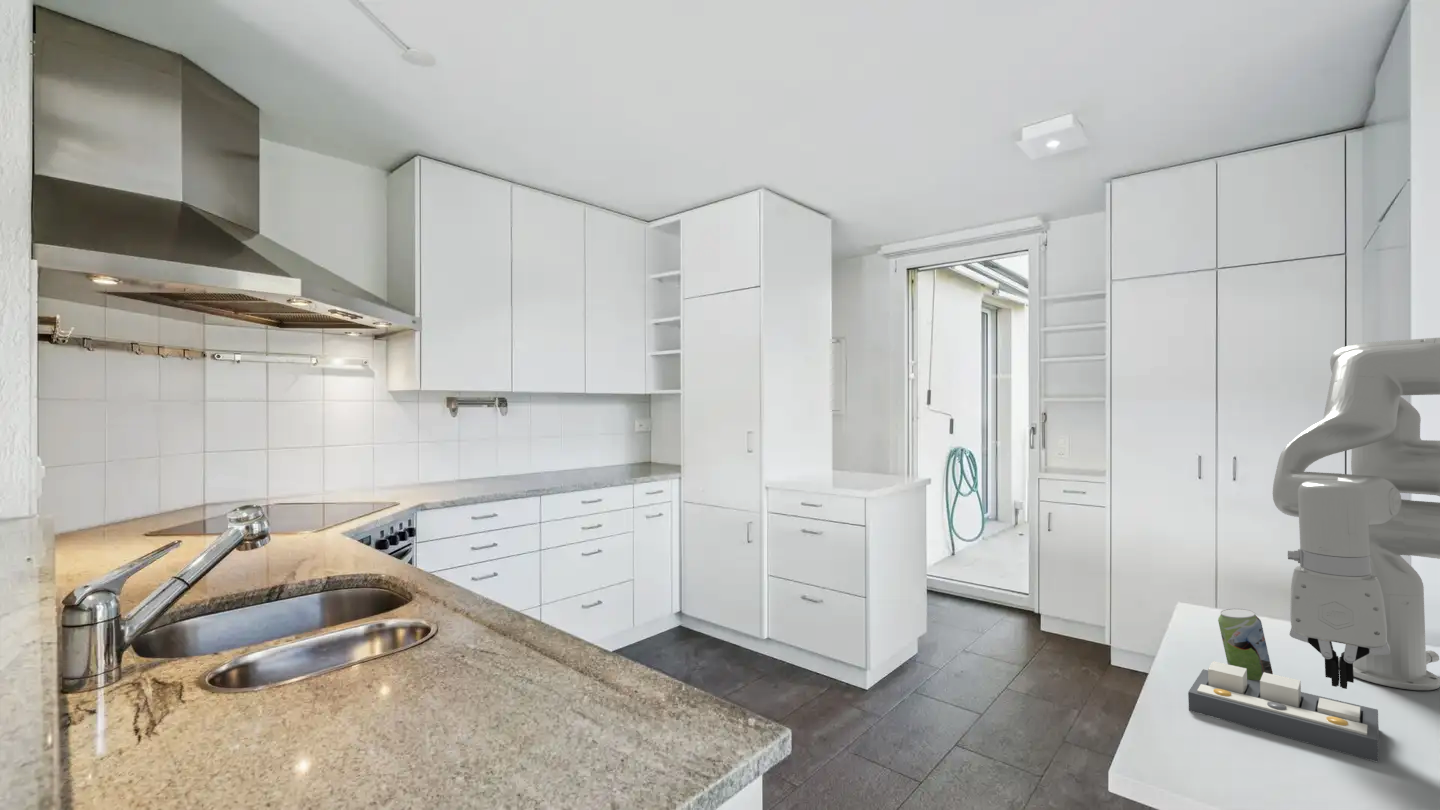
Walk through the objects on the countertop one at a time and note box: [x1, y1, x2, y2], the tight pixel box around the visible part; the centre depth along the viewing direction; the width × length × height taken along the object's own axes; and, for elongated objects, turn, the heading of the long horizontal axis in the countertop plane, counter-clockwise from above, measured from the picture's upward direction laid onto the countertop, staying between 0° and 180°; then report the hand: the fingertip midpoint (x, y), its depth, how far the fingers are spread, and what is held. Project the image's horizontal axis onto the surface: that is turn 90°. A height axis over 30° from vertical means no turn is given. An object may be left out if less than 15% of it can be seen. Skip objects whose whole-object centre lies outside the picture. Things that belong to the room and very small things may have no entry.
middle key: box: [1260, 672, 1302, 707], centre depth 98 cm, size 4×4×3 cm
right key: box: [1317, 698, 1361, 723], centre depth 93 cm, size 4×4×3 cm
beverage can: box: [1217, 608, 1274, 682], centre depth 111 cm, size 6×7×12 cm
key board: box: [1187, 668, 1380, 763], centre depth 97 cm, size 12×21×4 cm, turn 43°
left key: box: [1207, 660, 1247, 694], centre depth 103 cm, size 4×4×3 cm
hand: (1339, 684), depth 94 cm, fingers closed
